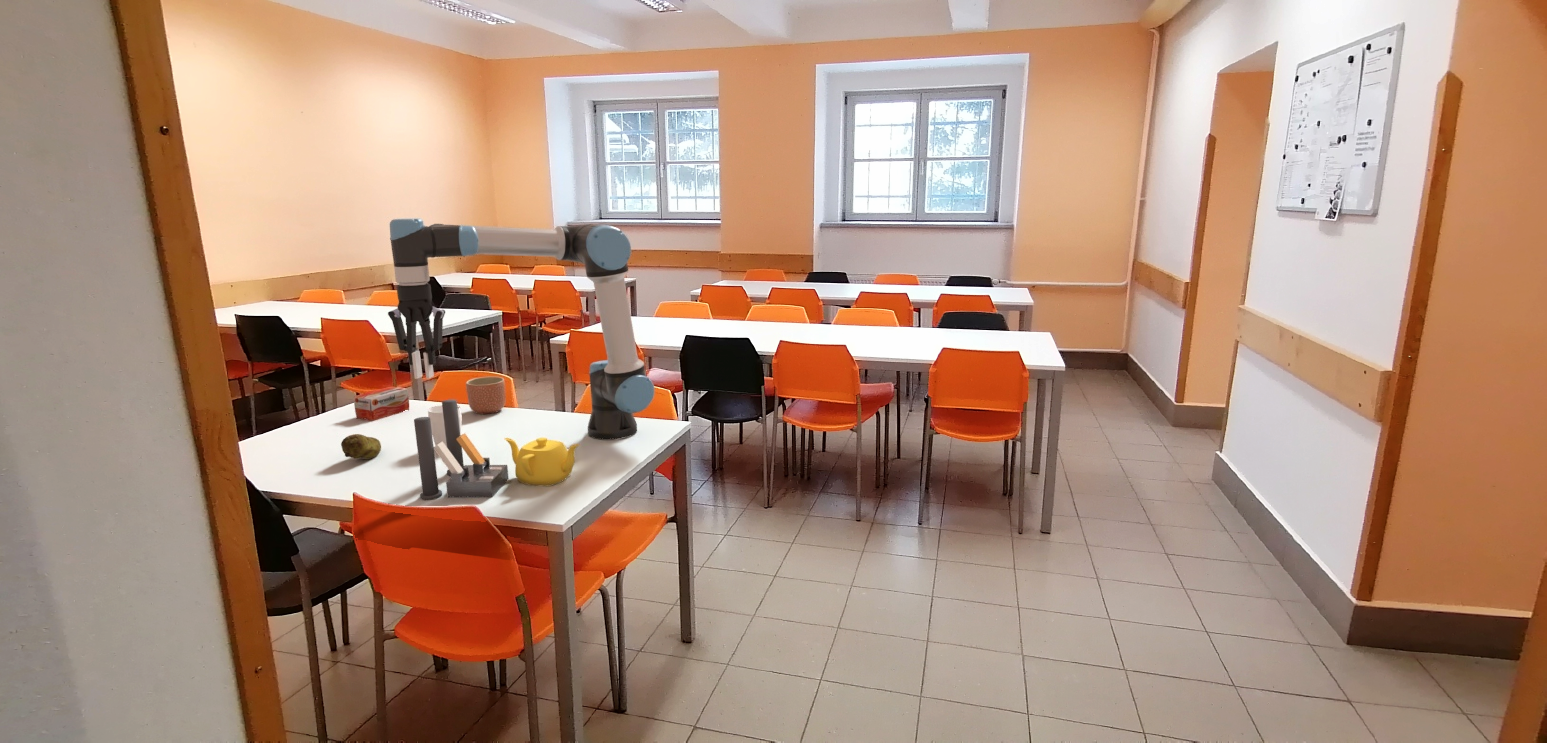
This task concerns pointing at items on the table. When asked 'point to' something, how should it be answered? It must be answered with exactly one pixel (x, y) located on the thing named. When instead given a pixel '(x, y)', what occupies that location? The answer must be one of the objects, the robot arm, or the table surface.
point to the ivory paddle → (448, 459)
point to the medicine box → (381, 403)
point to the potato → (361, 446)
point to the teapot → (542, 461)
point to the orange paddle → (471, 450)
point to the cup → (440, 423)
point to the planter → (486, 394)
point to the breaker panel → (477, 480)
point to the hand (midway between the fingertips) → (424, 377)
